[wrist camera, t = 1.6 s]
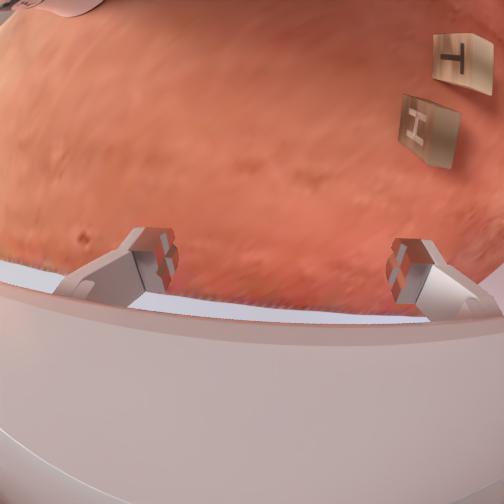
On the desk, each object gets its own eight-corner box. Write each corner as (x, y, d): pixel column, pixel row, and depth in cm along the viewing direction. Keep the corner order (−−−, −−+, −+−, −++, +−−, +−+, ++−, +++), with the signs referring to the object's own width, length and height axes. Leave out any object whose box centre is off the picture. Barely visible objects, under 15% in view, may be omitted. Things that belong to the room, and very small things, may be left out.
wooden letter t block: (432, 34, 19) (472, 33, 13) (452, 41, 19) (493, 43, 12) (432, 78, 23) (470, 87, 16) (451, 84, 23) (491, 96, 16)
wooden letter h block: (402, 94, 25) (436, 106, 18) (424, 98, 25) (461, 113, 18) (397, 140, 29) (427, 165, 22) (418, 143, 28) (451, 169, 22)
